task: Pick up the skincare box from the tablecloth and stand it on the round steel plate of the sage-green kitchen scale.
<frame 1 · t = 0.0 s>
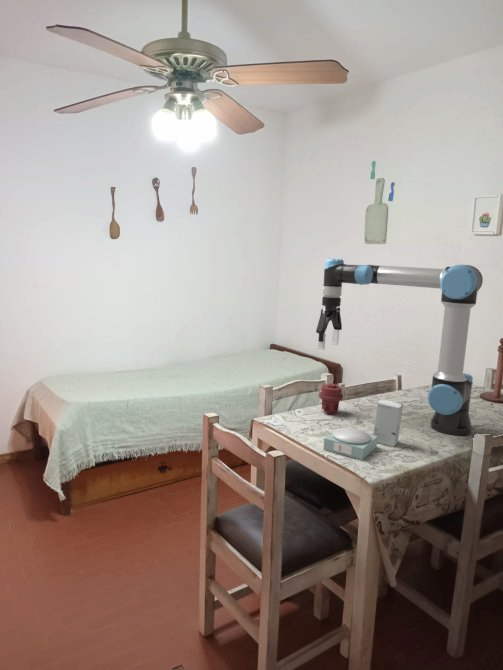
hand: (328, 346, 206), 28 cm above the table, tool pointing down, fingers open, 13 cm apart
kitchen scale: (350, 448, 171), on the table
mechanical component: (329, 413, 209), on the table
skincare box: (385, 442, 178), on the table
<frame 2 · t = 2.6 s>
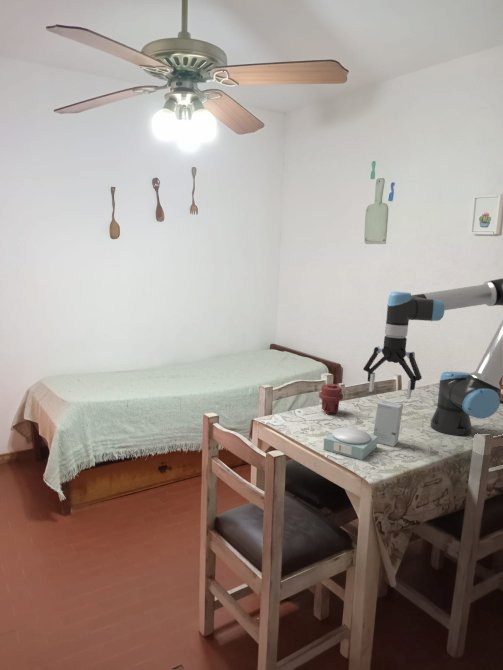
hand: (389, 394, 175), 18 cm above the table, tool pointing down, fingers open, 13 cm apart
nothing on the table moved.
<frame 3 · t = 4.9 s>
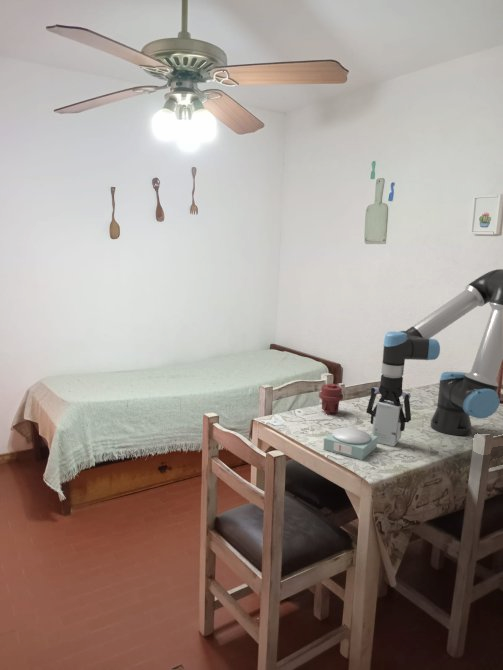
hand: (386, 435, 178), 2 cm above the table, tool pointing down, fingers closed on skincare box, 8 cm apart
skincare box: (385, 442, 178), on the table, touching gripper
everything else where it was.
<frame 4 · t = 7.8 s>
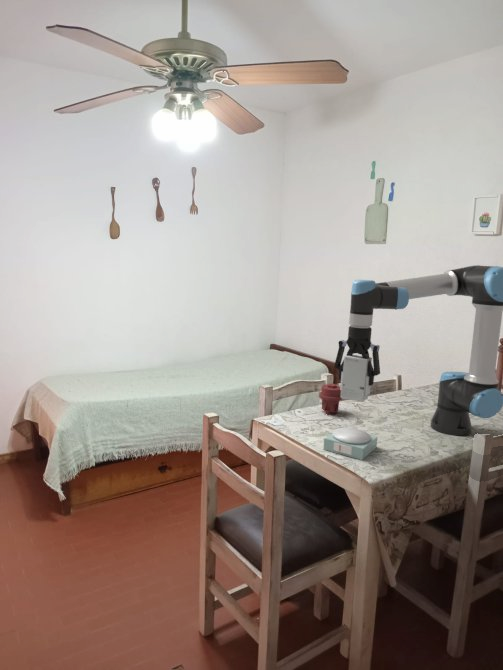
hand: (354, 391, 168), 20 cm above the table, tool pointing down, fingers closed on skincare box, 8 cm apart
skincare box: (354, 399, 168), point 18 cm above the table, touching gripper
everything else where it was.
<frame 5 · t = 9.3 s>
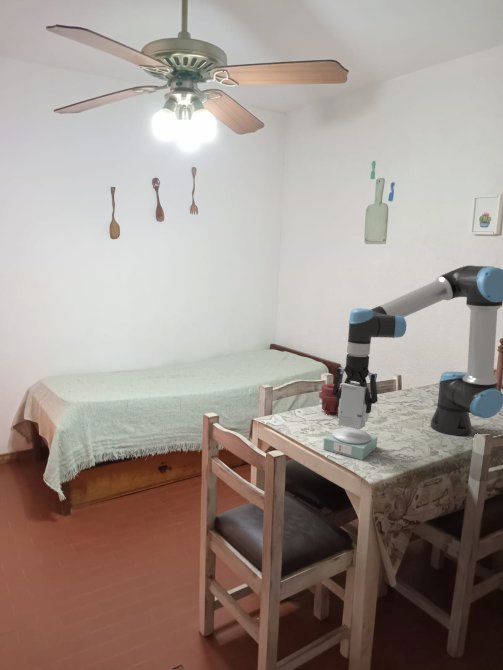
hand: (352, 418, 169), 11 cm above the table, tool pointing down, fingers closed on skincare box, 8 cm apart
skincare box: (352, 426, 170), point 8 cm above the table, touching gripper
everything else where it was.
when the fingers open (9 cm above the table, at t = 10.6 s): skincare box drops 1 cm, resting on kitchen scale.
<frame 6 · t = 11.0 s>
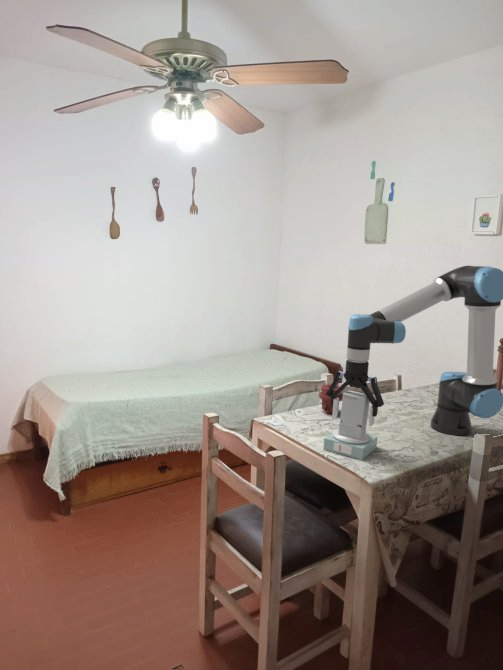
hand: (352, 420, 169), 10 cm above the table, tool pointing down, fingers open, 13 cm apart
skincare box: (352, 435, 170), point 5 cm above the table, touching kitchen scale
everything else where it was.
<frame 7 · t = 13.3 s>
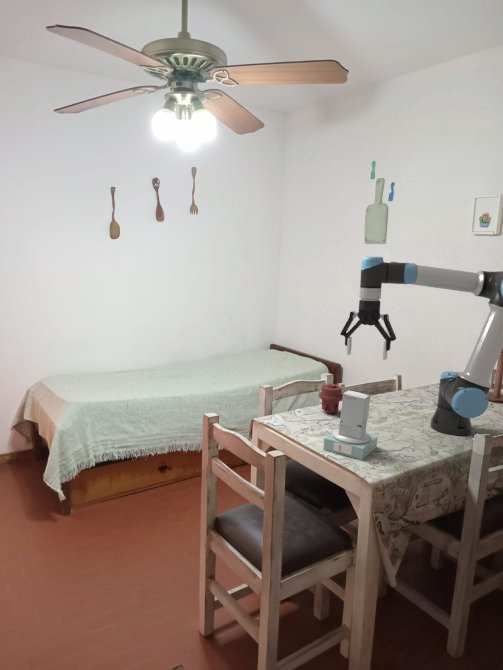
hand: (366, 356, 181), 30 cm above the table, tool pointing down, fingers open, 13 cm apart
nothing on the table moved.
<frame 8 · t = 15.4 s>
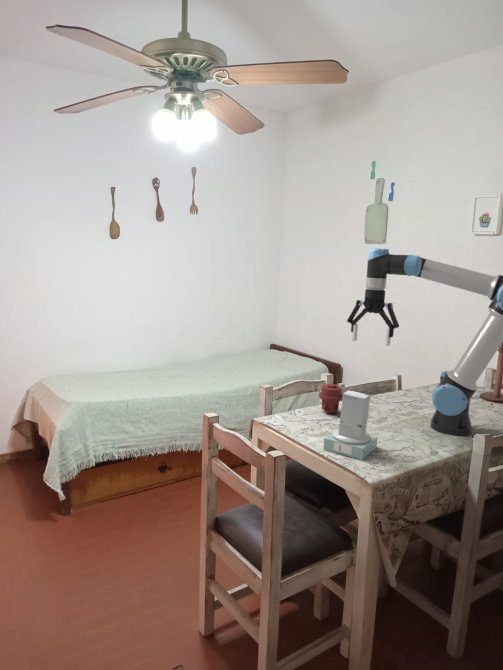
hand: (370, 343, 193), 33 cm above the table, tool pointing down, fingers open, 13 cm apart
nothing on the table moved.
at the end: skincare box 0.4 cm from the kitchen scale (horizontally); skincare box touching kitchen scale; skincare box tilted 0° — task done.
